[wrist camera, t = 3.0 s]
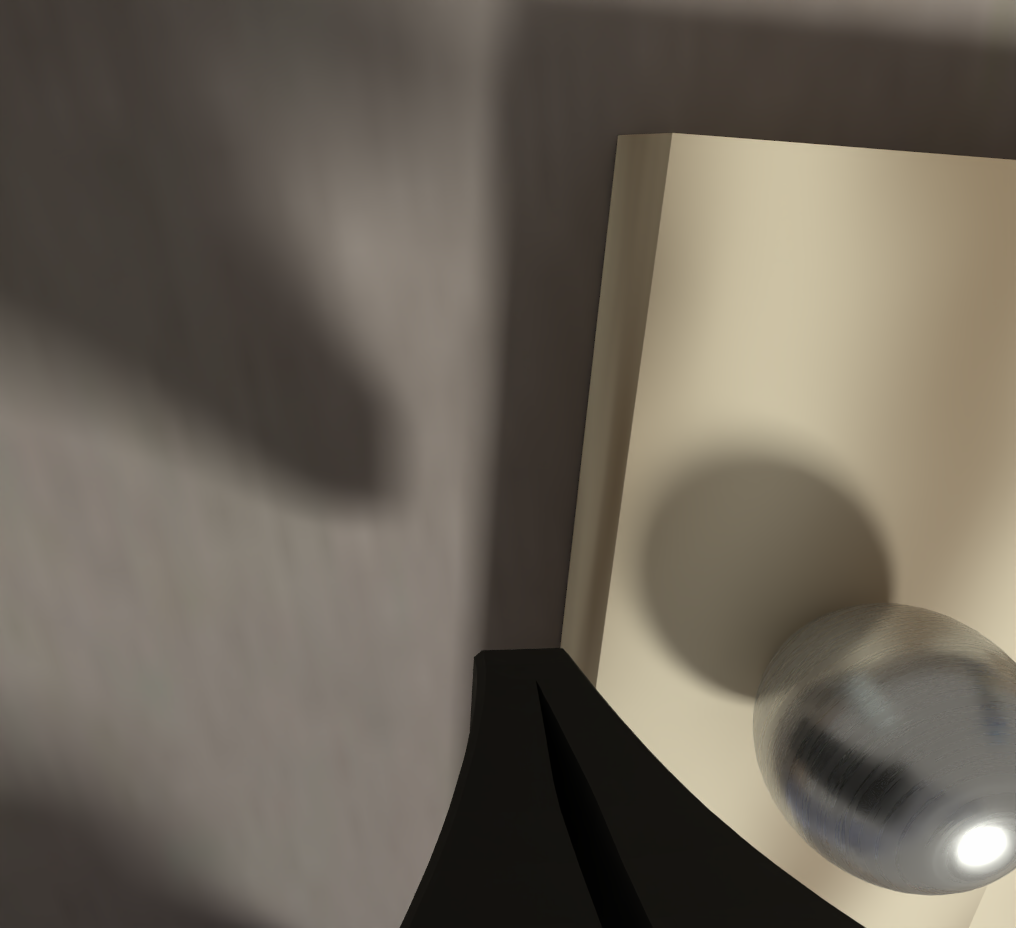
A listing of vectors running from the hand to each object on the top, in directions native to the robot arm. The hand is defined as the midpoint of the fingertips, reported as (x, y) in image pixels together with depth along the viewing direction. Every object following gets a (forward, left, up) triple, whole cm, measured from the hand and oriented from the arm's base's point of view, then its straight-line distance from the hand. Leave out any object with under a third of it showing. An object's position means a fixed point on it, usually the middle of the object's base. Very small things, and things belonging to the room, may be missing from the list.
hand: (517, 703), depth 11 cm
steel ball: (+5, 0, +1) cm, 6 cm away
